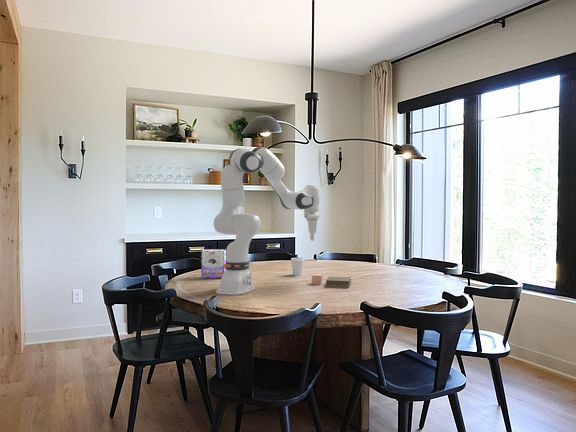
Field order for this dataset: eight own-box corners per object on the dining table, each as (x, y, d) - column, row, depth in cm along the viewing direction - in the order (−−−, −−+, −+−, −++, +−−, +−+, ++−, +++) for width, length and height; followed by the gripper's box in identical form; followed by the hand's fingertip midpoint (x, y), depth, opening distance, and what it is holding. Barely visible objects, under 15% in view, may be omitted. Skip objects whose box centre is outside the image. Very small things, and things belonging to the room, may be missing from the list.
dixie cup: (288, 274, 287) (288, 258, 286) (301, 273, 290) (301, 257, 289) (293, 276, 279) (293, 259, 278) (306, 275, 282) (306, 259, 281)
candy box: (226, 277, 277) (226, 249, 276) (224, 278, 271) (224, 250, 270) (203, 276, 278) (203, 249, 278) (201, 278, 273) (200, 250, 272)
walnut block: (348, 288, 245) (348, 281, 244) (326, 287, 247) (326, 280, 247) (350, 284, 256) (350, 277, 256) (329, 283, 259) (329, 276, 259)
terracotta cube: (321, 284, 253) (321, 275, 253) (311, 284, 254) (311, 275, 254) (322, 283, 258) (322, 274, 258) (313, 282, 259) (313, 273, 259)
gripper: (306, 213, 271) (306, 236, 273) (306, 216, 251) (306, 241, 252) (316, 213, 271) (316, 236, 272) (318, 216, 251) (318, 241, 252)
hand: (312, 239), depth 262 cm, fingers open, 8 cm apart
